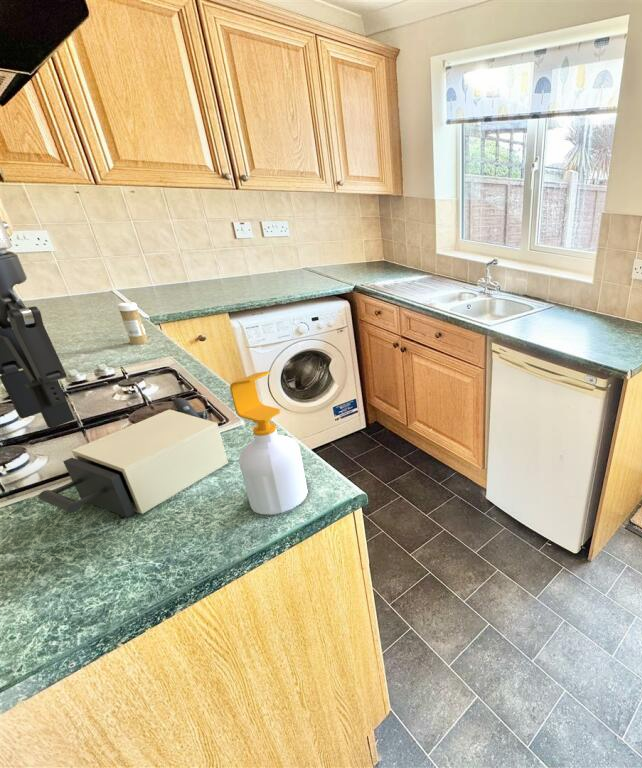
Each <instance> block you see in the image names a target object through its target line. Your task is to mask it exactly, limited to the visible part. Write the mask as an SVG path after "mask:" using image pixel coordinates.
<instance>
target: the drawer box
mask: <svg viewBox="0 0 642 768" xmlns="http://www.w3.org/2000/svg"><path fill="white" fill-rule="evenodd" d="M71 453H72V454H73V458H75V459H77V460H80V461H83V462H86V463H88V460H91V461H94V462H96V463H99V464H102V465H105V466H107V467H110V468H113V469H116V470H119V471H121V472H122V473H123V475H124V478H125V480H126V483H127V485H128V487H129V490H130V492H131V495H132V497H133V500H134V502H135V503H133V502H131V501H130V502H131V504H132V507H133V509H134V512H135V513H139V514H141V515H143V514H144V513H147V512H148V511H150V510H152V509H153V508H155V507H156V506H158V505H160V504H161V503H163V502H166V501H167V500H168V499H170V498H172V497H173V496H175V495H177V494H178V493H180V492H182V491H184V490H186V489H187V488H188V487H190V486H192V485H193V484H195V483H197V482H199V481H200V480H202V479H203V478H205V477H207V476H209V475H210V474H212V473H214V472H215V471H217V470H219V469H221V468H222V467H224V466H226V465H227V464H229V461H228V456H227V453H226V449H225V446H224V441H223V439H222V435H221V431H220V428H219V424H218V422H215V421H212V420H208V419H206V420H205V419H201V418H198V417H194V416H191V415H187V414H184V413H181V412H178V410H173V409H167V410H164V411H163V412H160V413H157V414H155V415H153V416H150V417H147V418H145V419H143V420H141V421H138V422H136V423H133V424H131V425H129V426H126V427H124V428H121V429H119V430H116V431H114V432H112V433H110V434H107V435H105V436H102V437H100V438H97V439H95V440H93V441H90V442H87V443H86V444H83V445H81V446H78V447H75V448H74V449H71ZM87 459H88V460H87ZM88 464H89V463H88Z"/></svg>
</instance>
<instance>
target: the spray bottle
mask: <svg viewBox="0 0 642 768" xmlns="http://www.w3.org/2000/svg"><path fill="white" fill-rule="evenodd" d="M270 374H271V373H270V370H268V371H267V370H266V371H260V372H255V373H252V374H250V375H248V376H245V377H243V378H241V379H238V380H235V381H233V382H231V383H230V385H229V390H230V394H231V399H232V402H233V407H234V410H235V413H236V415H238V417H240V418H242V419H246V420H249V421H252V422H253V423H254V424H257V425H255V426H254V427H253V428H252V432H253V437H254V439H253V440H252V441H250V442H249V443H248V444H246V446H244V447H243V449H242V450H241V452H240V453H239V457H238V464H239V469H240V473H241V476H242V480H243V483H244V487H245V491H246V495H247V499H248V503H249V506H250V509H252V511H253V512H254V513H257V514H261V515H266V516H268V515H270V516H272V515H278V514H282V513H283V514H284V513H285V512H288V511H291V510H293V509H295V508H296V507H298V506H299V505H300V504H302V502H303V501H304V500H305V499H306V498H307V496H308V486H307V480H306V475H305V469H304V465H303V464H304V463H303V459H302V452H301V449H300V444H298V442H297V441H296V440H295V439H294V438H292V437H289V436H287V435H283V434H278V429H277V426H276V424H275V423H274V422H270V421H272V419H273V418H274V417H275V416H278V415H279V414H281V409H280V408H278V407H273V406H269V405H266V404H263V403H262V402H261V401H260V399H259V394H258V390H257V386H256V381H258V380H260V379H261V378H264V377H266V376H268V375H270Z"/></svg>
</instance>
